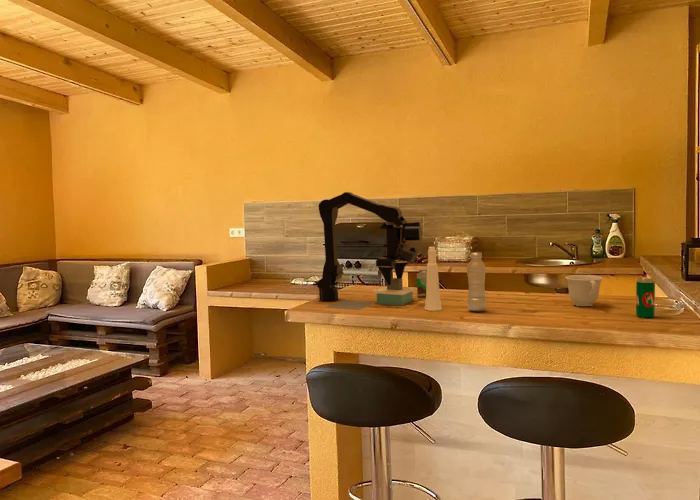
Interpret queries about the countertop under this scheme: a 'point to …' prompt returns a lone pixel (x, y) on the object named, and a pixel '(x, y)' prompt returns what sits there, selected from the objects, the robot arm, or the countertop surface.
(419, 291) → the food container
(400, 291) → the lid
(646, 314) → the soda can
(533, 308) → the countertop surface
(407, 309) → the countertop surface
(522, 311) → the countertop surface
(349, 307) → the mat
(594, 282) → the teacup
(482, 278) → the plastic bottle
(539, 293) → the countertop surface
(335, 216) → the robot arm
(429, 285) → the cosmetic bottle
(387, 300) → the dish
